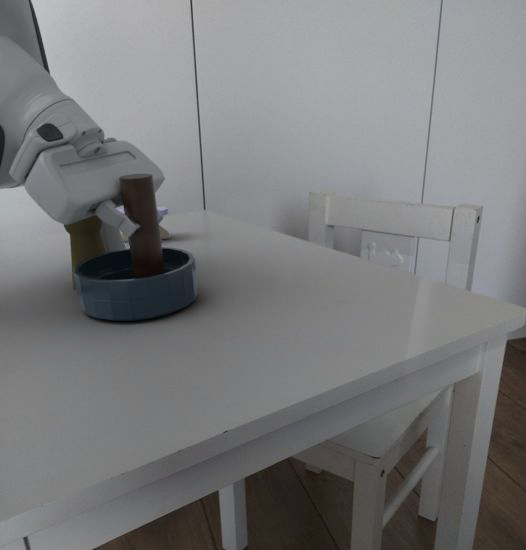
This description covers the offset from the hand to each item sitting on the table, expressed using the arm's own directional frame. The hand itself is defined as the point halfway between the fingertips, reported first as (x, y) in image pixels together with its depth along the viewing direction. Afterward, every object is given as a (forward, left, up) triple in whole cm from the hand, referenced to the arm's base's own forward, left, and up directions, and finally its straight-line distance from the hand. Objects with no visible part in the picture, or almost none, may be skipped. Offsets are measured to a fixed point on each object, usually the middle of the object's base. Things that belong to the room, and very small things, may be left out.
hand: (146, 227), depth 71 cm
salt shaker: (-11, +16, -10) cm, 22 cm away
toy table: (-10, +34, -10) cm, 37 cm away
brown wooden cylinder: (-1, 0, -8) cm, 8 cm away
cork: (-11, +8, -10) cm, 17 cm away
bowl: (-2, 0, -10) cm, 10 cm away
